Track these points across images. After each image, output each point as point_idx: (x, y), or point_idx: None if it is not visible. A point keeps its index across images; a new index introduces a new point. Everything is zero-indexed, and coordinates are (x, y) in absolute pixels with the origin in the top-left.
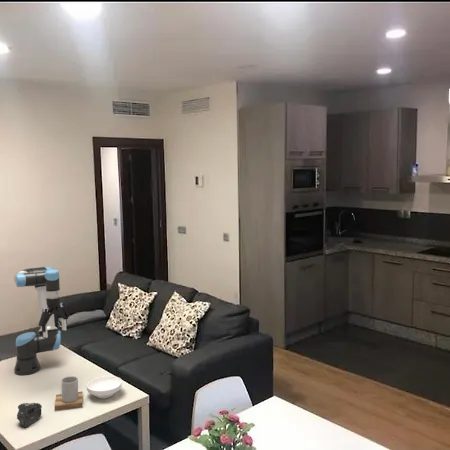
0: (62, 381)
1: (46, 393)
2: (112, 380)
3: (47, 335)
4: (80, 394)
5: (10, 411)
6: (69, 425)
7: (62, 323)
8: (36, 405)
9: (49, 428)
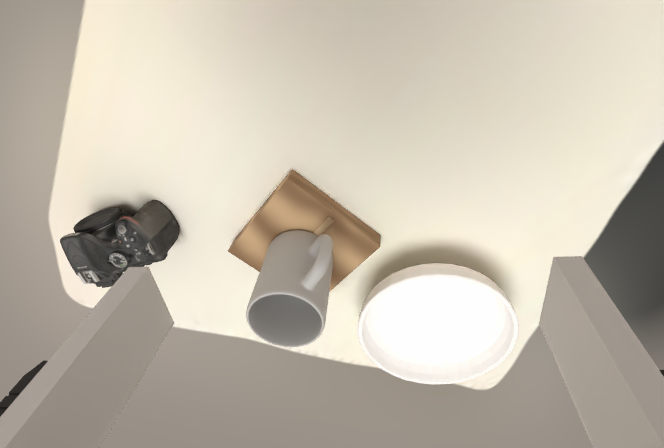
0: (247, 313)
1: (295, 78)
2: (505, 310)
3: (158, 346)
4: (354, 259)
5: (95, 96)
6: (222, 332)
7: (615, 386)
8: (136, 265)
9: (171, 302)
